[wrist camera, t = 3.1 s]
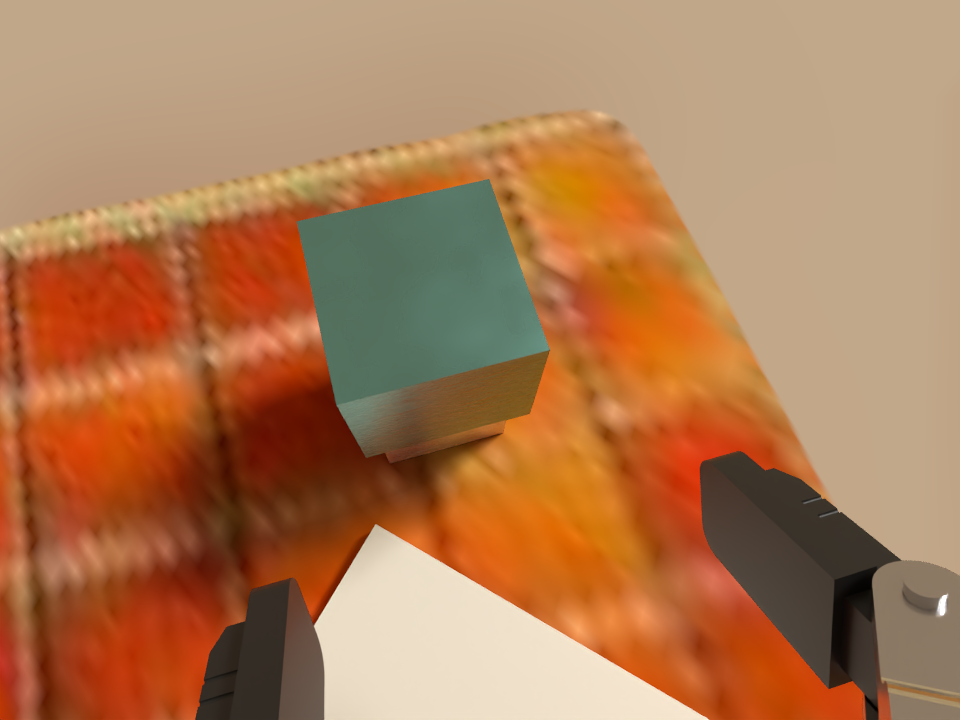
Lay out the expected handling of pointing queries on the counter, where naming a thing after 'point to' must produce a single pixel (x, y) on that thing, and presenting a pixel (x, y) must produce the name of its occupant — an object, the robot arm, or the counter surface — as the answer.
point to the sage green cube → (423, 316)
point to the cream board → (459, 651)
